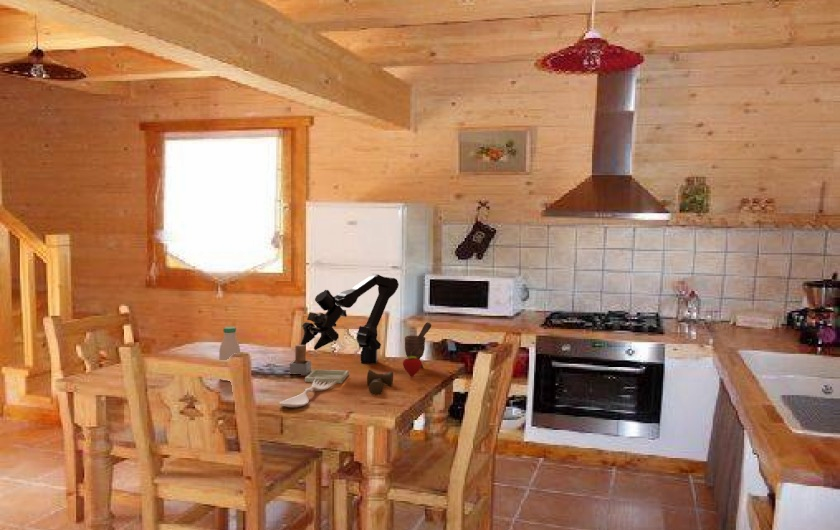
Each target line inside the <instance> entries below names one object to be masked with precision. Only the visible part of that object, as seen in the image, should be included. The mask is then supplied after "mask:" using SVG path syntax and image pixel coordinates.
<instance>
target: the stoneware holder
mask: <svg viewBox="0 0 840 530" xmlns="http://www.w3.org/2000/svg"><path fill="white" fill-rule="evenodd" d="M311 372H312V360H310V359H309V360H307V359H306V363H305V364H298V363H295V359H294V360H293V361H291V362H290V363H289V374H290V373H298V374H301V375H300V376H307V375H309V374H310V373H311Z"/></svg>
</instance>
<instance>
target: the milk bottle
mask: <svg viewBox="0 0 840 530" xmlns="http://www.w3.org/2000/svg"><path fill="white" fill-rule="evenodd" d="M236 334H237V328H236V327H234V326H227V327H223V338H222V341H221V344H220V347H219V356H218V359H219V360H227V359H229V357H230V356H231V355H232V354H234V353H240V354H241V347H240V344H239V342H238V339H237V335H236ZM221 381H222V382H228V381H227V380H221Z"/></svg>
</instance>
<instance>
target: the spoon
mask: <svg viewBox="0 0 840 530" xmlns="http://www.w3.org/2000/svg"><path fill="white" fill-rule="evenodd" d="M315 382H316V379H315V380H314V381H313V383H312V382H311V383H312V384H311V386H310V387H308V388H305V389H304V390H303V392H301V393H300V394H298V395H295V396H292V397H289V398H287V399H286V398H285V399H284V400H281V401H279V404H280V405H281V406H283V407H287V408H300V407H303V406H306V405H308V403H309V402H310V400H309V397H308V395H307V394H308V393H310V392H313V391H316V392H322V391H326V390H327V389H329V388H331V387H333V386H335V385H336V384H337V383H336V381H334V382H333V381H332V382H331V383H330V382H328V383H326V382H324V383H322V381H321V382H320V383H318V382H319V380H318V381H317V382H316V383H315Z"/></svg>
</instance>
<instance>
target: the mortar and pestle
mask: <svg viewBox="0 0 840 530" xmlns="http://www.w3.org/2000/svg"><path fill="white" fill-rule="evenodd" d="M431 328H432V323H430V322H428V321H427V322H425V324H424V325H423V326H422V328H421V331H420V332H419V334H418V335H412V334H411V335H406V336H405V337H404V351H405V354H406V355H405V356H406V358H408V356H410V357H411V356H416V357H417V359H419V360H420V361H421V358H422V357H423V356H424V352H425V348H426V347H425V346H426V337H425V335H426V334H427V333H428V332H429V330H430V329H431ZM411 352H412V353H411ZM421 368H422V369H423V368H424V367H423V364H422V365H421Z"/></svg>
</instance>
